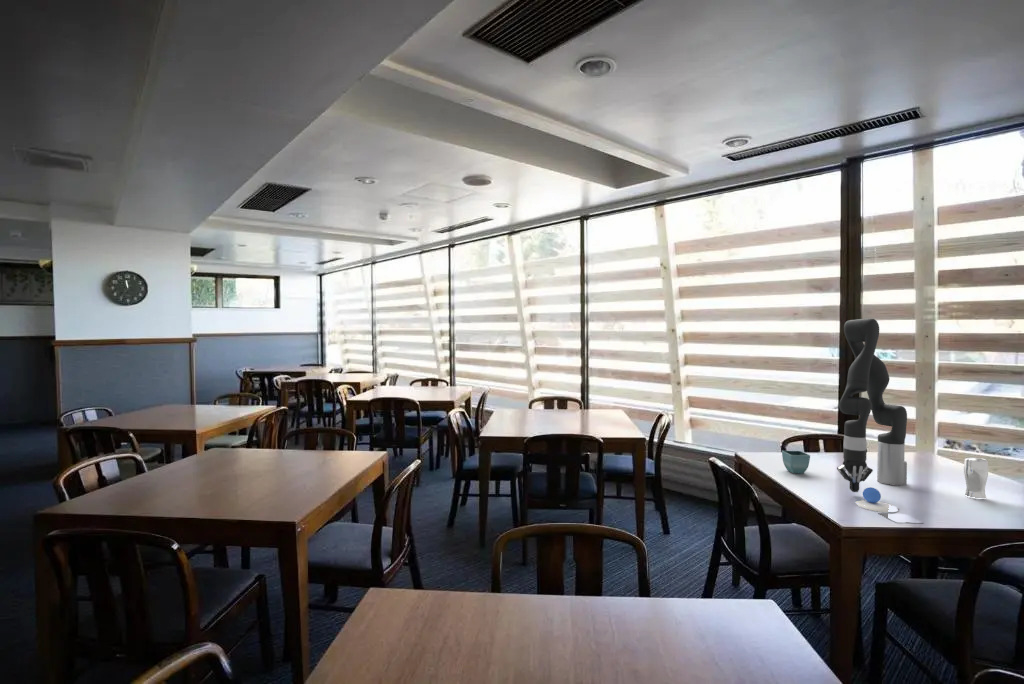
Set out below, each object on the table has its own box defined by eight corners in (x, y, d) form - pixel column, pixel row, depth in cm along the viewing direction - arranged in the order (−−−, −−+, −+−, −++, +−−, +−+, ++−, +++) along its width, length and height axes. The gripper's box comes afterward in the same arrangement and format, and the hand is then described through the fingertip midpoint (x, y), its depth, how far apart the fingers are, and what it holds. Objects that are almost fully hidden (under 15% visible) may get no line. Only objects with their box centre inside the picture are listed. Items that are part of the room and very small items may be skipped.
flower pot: (810, 475, 228) (810, 455, 228) (790, 474, 228) (791, 455, 228) (800, 469, 237) (800, 450, 237) (781, 469, 237) (781, 450, 237)
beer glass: (984, 501, 192) (985, 462, 191) (960, 496, 197) (961, 458, 197) (990, 498, 195) (990, 459, 195) (966, 493, 201) (967, 456, 201)
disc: (882, 500, 193) (882, 500, 193) (907, 513, 180) (907, 512, 180) (847, 500, 193) (847, 500, 193) (870, 512, 180) (870, 512, 180)
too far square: (904, 514, 179) (904, 513, 179) (923, 523, 170) (923, 522, 170) (877, 513, 179) (877, 513, 179) (896, 523, 170) (896, 522, 170)
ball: (886, 491, 188) (882, 505, 189) (873, 484, 194) (869, 498, 195) (873, 491, 187) (870, 505, 188) (860, 484, 192) (857, 498, 194)
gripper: (843, 449, 196) (842, 494, 196) (878, 450, 195) (878, 494, 195) (831, 445, 203) (831, 488, 203) (865, 445, 203) (865, 488, 203)
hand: (854, 491), depth 199 cm, fingers closed
